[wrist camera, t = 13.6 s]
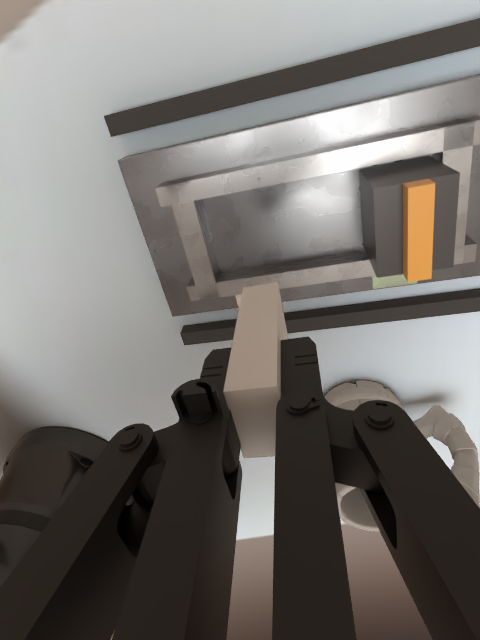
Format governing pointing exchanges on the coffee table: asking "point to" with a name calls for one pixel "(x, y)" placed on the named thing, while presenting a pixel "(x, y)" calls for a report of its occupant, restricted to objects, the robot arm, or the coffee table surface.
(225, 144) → the breaker panel
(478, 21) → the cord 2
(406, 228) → the breaker toggle
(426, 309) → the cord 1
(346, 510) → the mug
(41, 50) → the coffee table surface
